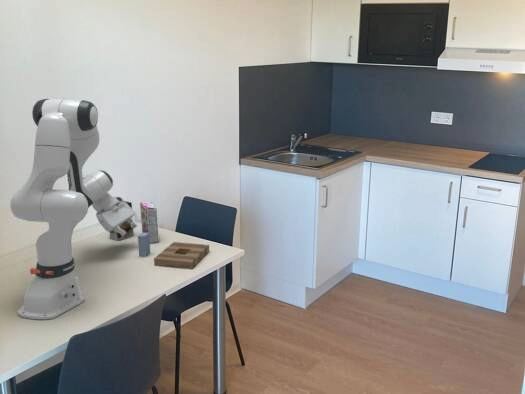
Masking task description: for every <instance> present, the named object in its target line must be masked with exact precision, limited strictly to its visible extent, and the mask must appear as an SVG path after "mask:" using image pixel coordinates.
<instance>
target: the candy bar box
mask: <svg viewBox="0 0 525 394" xmlns="http://www.w3.org/2000/svg"><path fill="white" fill-rule="evenodd" d="M139 204H140V205H139V206H140V217H141V218H140V219H141V233H149V238H150V245H152V244H156V243H159V228H158V215H157V214H158V213H157V207H156V206H155V205H154V204H153V203H152V201H142V202H140V203H139Z"/></svg>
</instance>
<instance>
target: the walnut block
mask: <svg viewBox="0 0 525 394" xmlns="http://www.w3.org/2000/svg"><path fill="white" fill-rule="evenodd" d="M209 252H210V244H206V243H205V244H203V243H202V244H201V243H194V242H193V243H192V242H181V241H180V242H178V241H173V242H171V244H170V245H168V246H167V247H166V248H165V249H163V251H161V252H160V253H159V254H158V255H157V256H155V257H154V258H153V262H154V263H153V264H154V266H155V267H156V266H157V267H167V268H176V269H185V270H187V269H189V270H193V269H194V268H195V267H196V266H197V265H198V264H199V263H200V262H201V261H202V260H203V259H204V258H205V256H207V255H208V254H209Z"/></svg>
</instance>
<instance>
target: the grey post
mask: <svg viewBox="0 0 525 394" xmlns="http://www.w3.org/2000/svg"><path fill="white" fill-rule="evenodd" d="M137 244H138V257H141V258H147V257H148V256H149V255H150V254H151V244H150V238H149V233H142V232H141V233H140V234H138V235H137Z"/></svg>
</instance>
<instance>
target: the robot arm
mask: <svg viewBox="0 0 525 394" xmlns="http://www.w3.org/2000/svg"><path fill="white" fill-rule="evenodd" d="M98 112H99V111H98V109H97V106H96V105H95V104H94V103H93V102H91V101H88V100H84V99H83V100H77V99H69V98H68V99H67V98H50V99H49V98H43V99H40V100H37V101H36V103H35V104H34V105H33V107H32V113H31V114H32V120H33V123H34V124H35V125H36V127H37V129H36V133H35V134H36V135H35V140H34V154H33V155H34V156H33V163H32V164H33V165H32V169H31V172H30V175H29V177H28V179H27V181H26V182H25V184H24V185H23V186H22V187H21V188H20V189H18V190H17V191H16V192H14V193H13V195H12V197H11V199H10V210H11V213H12V215H13V216H14V217H15V218H17V219H20V220H23V221H28V222H40V223H47V224H48V230H47V231H45V232H43V233H41V234H40V235H39V236H38V237H37V239H36V242H35V249H36V257H37V262H36V266H35V268H33V267H32V268H30V270H29V274H30V275H35V277H34V278H33V279H32V280H31V281H32V282H31V283H30V285H29V287H28V288H27V290H26V292H24V295H23V305H22V306H20V308H19V309H18V310H17V311H16V314H17V315H18V316H19V317H22V318H25V319H31V320H51V319H52V320H53V319H54V318H57V317H59V316H61V315H62V314H64V313H66V312H67V311H69V310H71V309H73V308H75V307H77V306H78V305H80V304H81V303H84V301H85V298H84V297H85V296H83V295H82V293H81V287H80V283H79V282H80V281H79V277H78V276H77V274H76V272H75V268H76V266H75V264H76V263H75V259H74V257H73V252H72V249H73V248H72V237H73V232H74V230H75V228H76V226H77V225H78V224H79V223H80V222H82V221H83V220H84V219H85V218H86V215H88V210H89V208H90V207H91V206H92V209H94V210H95V211H96V213H95V216H96V219H97V220H98V223H99V224H100V225H101V227H102V228H103V229H104V230H105V231H106V232H108V233H109V232H110V231H112V230H114V231H115V232H118V233H120V234H121V235H122V236H124V235H125V234H126V231H125V230H122V229H121V228H120V227H119V226H120V225H121V224H123V223H124V222H126V221H128V223H130V224H131V227H132V228H133V230H134V229H135V228H137V227H138V224H137V223H136V222H135V220H134V218H132V217H134V216H135V211H134V210H133V207H132V208H131V207H130V206H129V205H128V204H127V203H125V202H123V201H124V198H123V197H121V196H114V195H113V196H112V195H111V194H110V193H109V192H110V190H112V188H113V185H114V180H113V178H112V176H111V175H110V174H109V173H108V172H106V171H105V170H101V169H98V170H95V171H94V172H92V173H87V172H86V173H84V174H83V167H84V165H85V164H86V162H87V160H89V158H90V157H91V155H93V153H94V152H95V151H97V149H98V147H99V145H100V133H99V129H98V126H97V125H98V122H99V113H98ZM66 175H67V176H66ZM65 176H66V177H67V183H68V189H55V188H54V186H55V183H56V181H57V180H59V179H60V178H63V177H65Z"/></svg>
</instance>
